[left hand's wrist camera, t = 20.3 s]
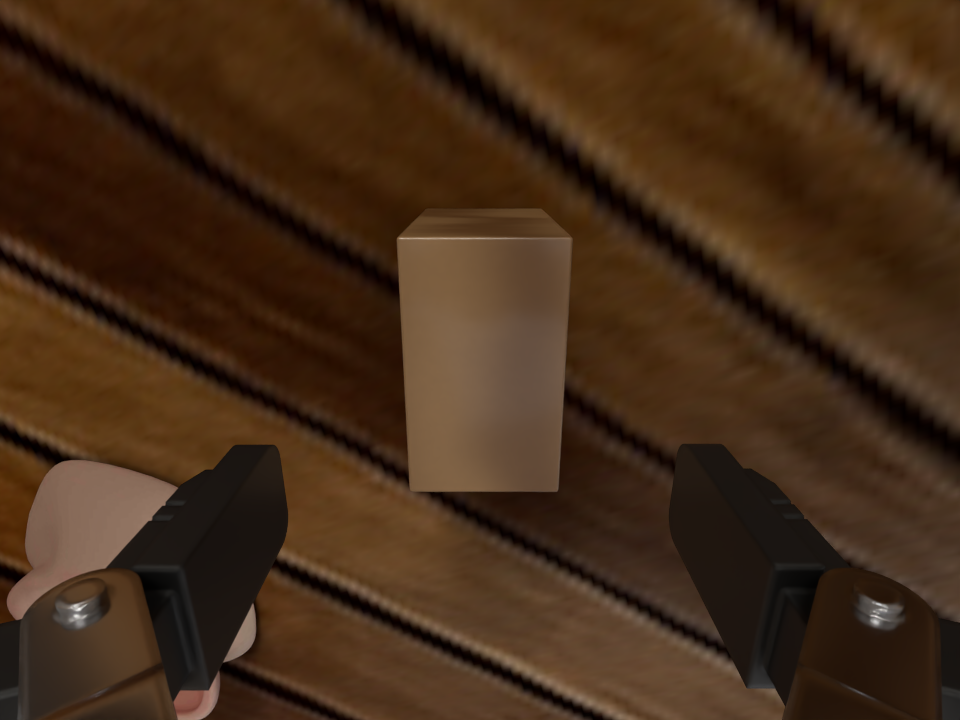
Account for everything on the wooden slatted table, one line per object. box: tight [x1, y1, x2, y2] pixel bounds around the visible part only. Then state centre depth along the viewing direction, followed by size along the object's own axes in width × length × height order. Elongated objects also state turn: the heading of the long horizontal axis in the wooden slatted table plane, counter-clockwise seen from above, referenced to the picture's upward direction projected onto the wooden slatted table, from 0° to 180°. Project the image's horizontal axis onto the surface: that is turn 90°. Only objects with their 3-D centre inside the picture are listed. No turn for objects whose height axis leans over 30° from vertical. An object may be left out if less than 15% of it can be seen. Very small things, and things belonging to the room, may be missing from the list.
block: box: [397, 209, 573, 492], centre depth 20 cm, size 5×8×8 cm, turn 0°
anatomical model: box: [7, 460, 256, 720], centre depth 27 cm, size 13×4×12 cm
